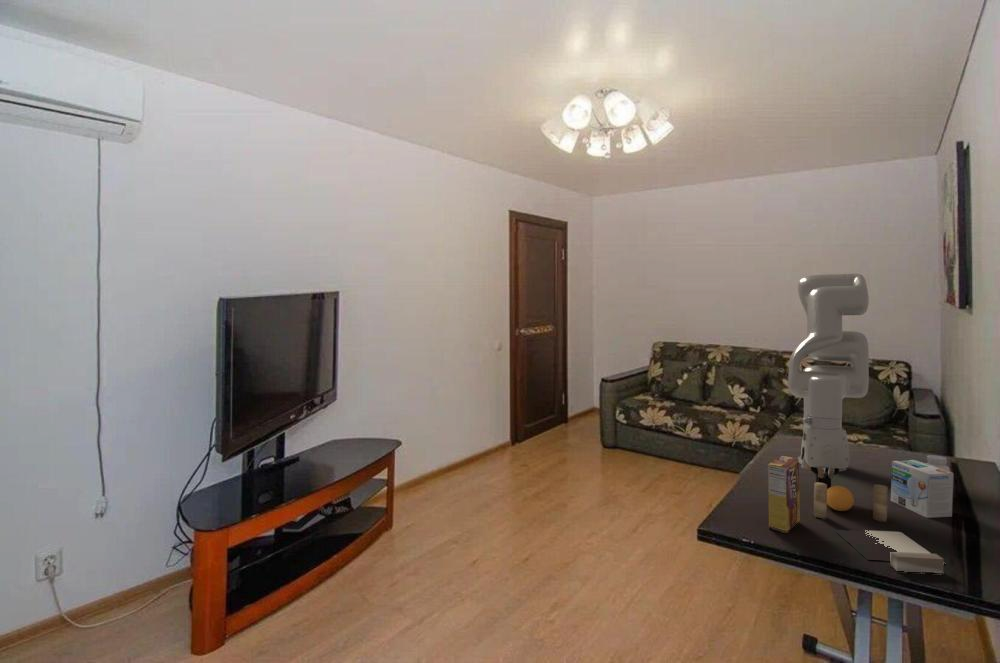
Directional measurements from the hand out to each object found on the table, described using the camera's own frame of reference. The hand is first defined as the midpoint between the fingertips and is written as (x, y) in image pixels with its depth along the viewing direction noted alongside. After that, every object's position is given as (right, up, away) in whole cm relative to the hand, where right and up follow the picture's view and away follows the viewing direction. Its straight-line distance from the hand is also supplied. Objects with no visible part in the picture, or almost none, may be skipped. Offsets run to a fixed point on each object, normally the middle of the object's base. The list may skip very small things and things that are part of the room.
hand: (823, 491), depth 134 cm
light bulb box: (+19, -2, -8) cm, 21 cm away
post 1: (-8, -3, -12) cm, 15 cm away
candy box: (-20, -3, -16) cm, 25 cm away
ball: (-1, +1, -8) cm, 8 cm away
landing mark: (-4, -3, -27) cm, 27 cm away
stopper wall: (-5, -4, -36) cm, 37 cm away
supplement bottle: (+32, -1, +2) cm, 32 cm away
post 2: (+5, -2, -14) cm, 15 cm away
